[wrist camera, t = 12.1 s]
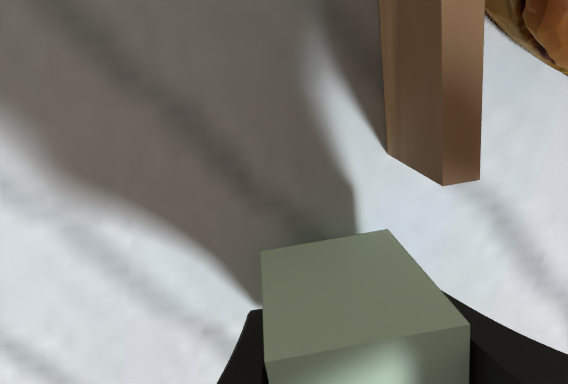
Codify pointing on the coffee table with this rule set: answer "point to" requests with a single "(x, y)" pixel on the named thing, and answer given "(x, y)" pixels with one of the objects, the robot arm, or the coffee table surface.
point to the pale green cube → (358, 316)
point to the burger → (535, 27)
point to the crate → (434, 85)
